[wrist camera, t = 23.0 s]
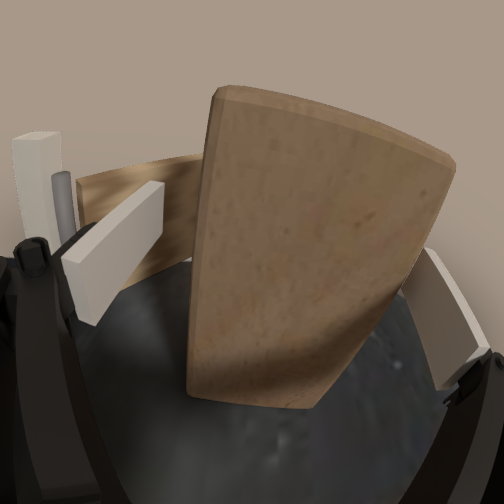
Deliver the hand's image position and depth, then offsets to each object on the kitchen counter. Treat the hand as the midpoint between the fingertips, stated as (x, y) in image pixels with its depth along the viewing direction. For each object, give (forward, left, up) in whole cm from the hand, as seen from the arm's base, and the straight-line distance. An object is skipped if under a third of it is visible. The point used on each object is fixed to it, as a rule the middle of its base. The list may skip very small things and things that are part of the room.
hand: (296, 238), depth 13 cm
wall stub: (-20, +3, -14) cm, 24 cm away
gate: (-13, +12, -14) cm, 22 cm away
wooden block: (0, +3, -14) cm, 14 cm away
